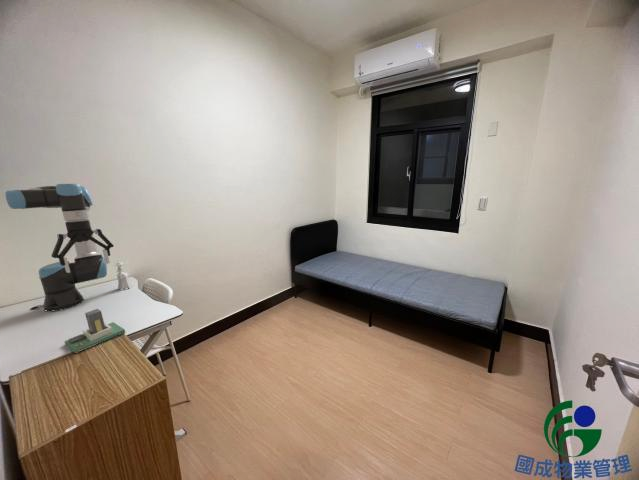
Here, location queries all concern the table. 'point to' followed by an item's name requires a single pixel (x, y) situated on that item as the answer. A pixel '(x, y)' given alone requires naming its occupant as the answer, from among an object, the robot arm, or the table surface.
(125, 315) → the table surface
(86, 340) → the board
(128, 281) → the figurine
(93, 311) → the plug
